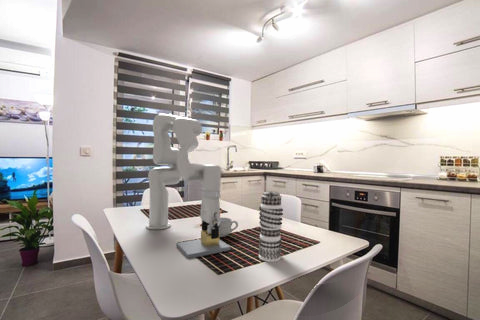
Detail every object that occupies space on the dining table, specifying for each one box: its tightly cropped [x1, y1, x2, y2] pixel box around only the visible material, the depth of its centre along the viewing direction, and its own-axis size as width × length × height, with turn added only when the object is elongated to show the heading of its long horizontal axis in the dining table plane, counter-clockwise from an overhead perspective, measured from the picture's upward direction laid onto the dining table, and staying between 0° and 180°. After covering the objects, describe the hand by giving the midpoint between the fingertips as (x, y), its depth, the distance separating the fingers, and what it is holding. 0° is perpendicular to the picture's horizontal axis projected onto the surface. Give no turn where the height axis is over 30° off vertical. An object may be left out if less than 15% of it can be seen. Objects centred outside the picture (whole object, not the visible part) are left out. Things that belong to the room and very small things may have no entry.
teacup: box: [209, 216, 239, 238], centre depth 117 cm, size 14×11×8 cm
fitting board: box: [176, 224, 231, 259], centre depth 100 cm, size 14×18×9 cm
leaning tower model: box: [258, 190, 284, 263], centre depth 93 cm, size 9×9×25 cm
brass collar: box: [200, 229, 220, 247], centre depth 102 cm, size 6×6×5 cm
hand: (209, 234), depth 102 cm, fingers open, 9 cm apart
